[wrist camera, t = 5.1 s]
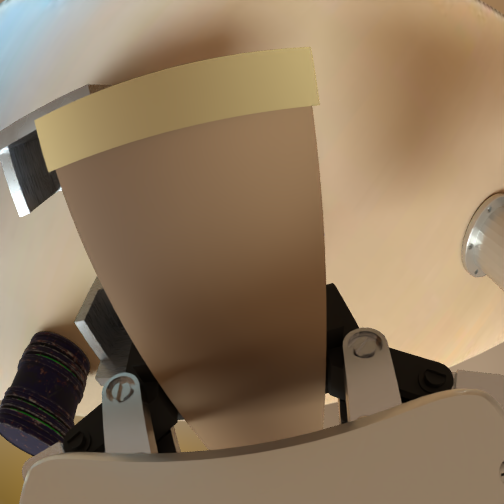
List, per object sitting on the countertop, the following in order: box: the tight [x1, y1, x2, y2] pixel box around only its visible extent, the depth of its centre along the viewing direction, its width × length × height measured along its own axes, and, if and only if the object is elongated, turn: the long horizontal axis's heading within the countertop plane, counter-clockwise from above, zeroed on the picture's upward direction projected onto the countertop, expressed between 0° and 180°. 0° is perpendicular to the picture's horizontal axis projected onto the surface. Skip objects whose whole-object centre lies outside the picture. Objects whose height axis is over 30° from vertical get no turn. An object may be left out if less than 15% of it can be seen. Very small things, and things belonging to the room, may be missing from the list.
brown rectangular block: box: [34, 47, 326, 450], centre depth 10 cm, size 5×16×5 cm, turn 10°
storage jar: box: [0, 332, 90, 456], centre depth 27 cm, size 10×10×15 cm
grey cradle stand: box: [0, 84, 132, 386], centre depth 20 cm, size 8×20×11 cm, turn 10°
